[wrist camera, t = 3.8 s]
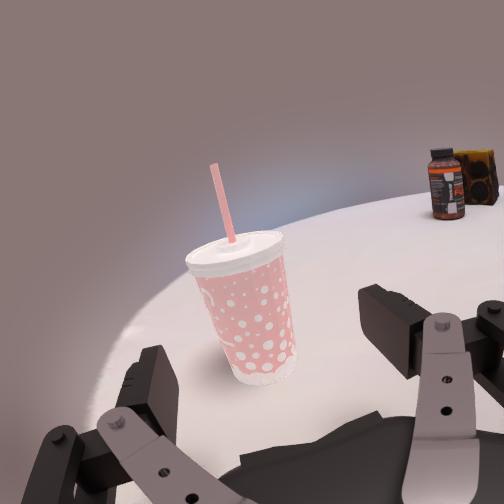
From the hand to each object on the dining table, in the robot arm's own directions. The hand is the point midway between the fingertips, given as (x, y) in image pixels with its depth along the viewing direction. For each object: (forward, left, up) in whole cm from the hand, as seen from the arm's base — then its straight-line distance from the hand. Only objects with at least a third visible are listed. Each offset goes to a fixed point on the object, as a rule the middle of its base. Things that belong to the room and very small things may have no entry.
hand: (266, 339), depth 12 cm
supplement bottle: (-43, +17, -7) cm, 47 cm away
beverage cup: (-7, -4, -7) cm, 11 cm away
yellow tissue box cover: (-54, +26, -7) cm, 60 cm away
